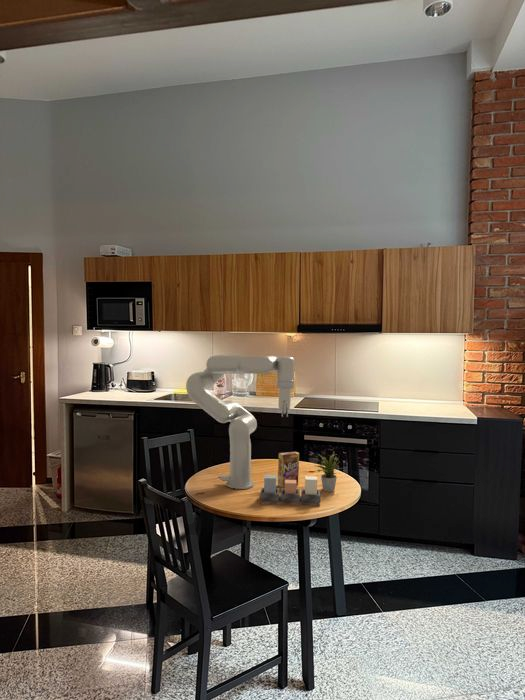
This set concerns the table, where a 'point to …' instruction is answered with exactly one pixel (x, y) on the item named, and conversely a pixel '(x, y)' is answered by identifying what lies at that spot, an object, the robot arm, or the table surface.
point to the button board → (290, 498)
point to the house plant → (328, 474)
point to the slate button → (270, 484)
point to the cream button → (311, 485)
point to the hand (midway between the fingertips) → (284, 425)
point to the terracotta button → (290, 486)
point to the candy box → (288, 467)
